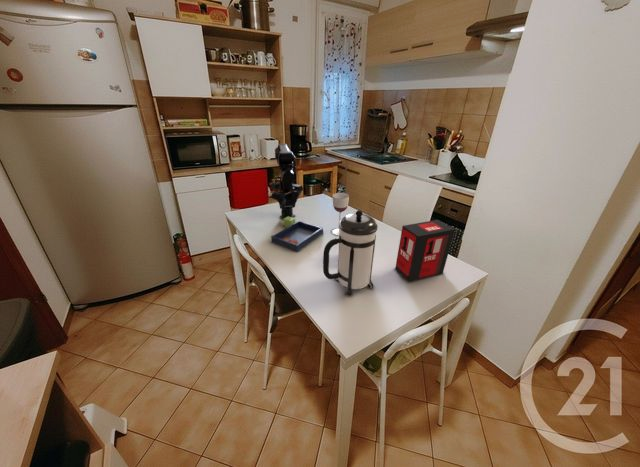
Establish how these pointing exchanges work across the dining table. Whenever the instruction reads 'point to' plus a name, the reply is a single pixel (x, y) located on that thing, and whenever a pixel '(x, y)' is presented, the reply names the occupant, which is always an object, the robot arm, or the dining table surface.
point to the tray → (297, 235)
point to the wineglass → (340, 206)
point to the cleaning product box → (423, 249)
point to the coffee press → (353, 251)
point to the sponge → (288, 221)
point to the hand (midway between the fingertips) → (288, 207)
